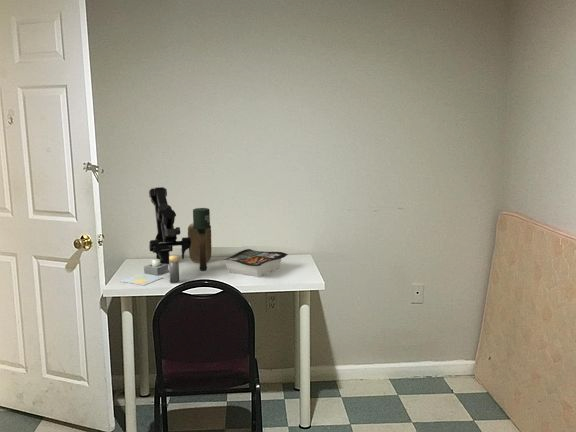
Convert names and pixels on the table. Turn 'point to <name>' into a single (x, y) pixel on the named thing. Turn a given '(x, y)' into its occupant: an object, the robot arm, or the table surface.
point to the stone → (195, 244)
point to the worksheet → (141, 279)
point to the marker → (174, 269)
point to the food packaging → (254, 262)
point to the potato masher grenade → (202, 232)
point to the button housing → (156, 269)
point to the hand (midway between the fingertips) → (172, 259)
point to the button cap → (155, 262)
